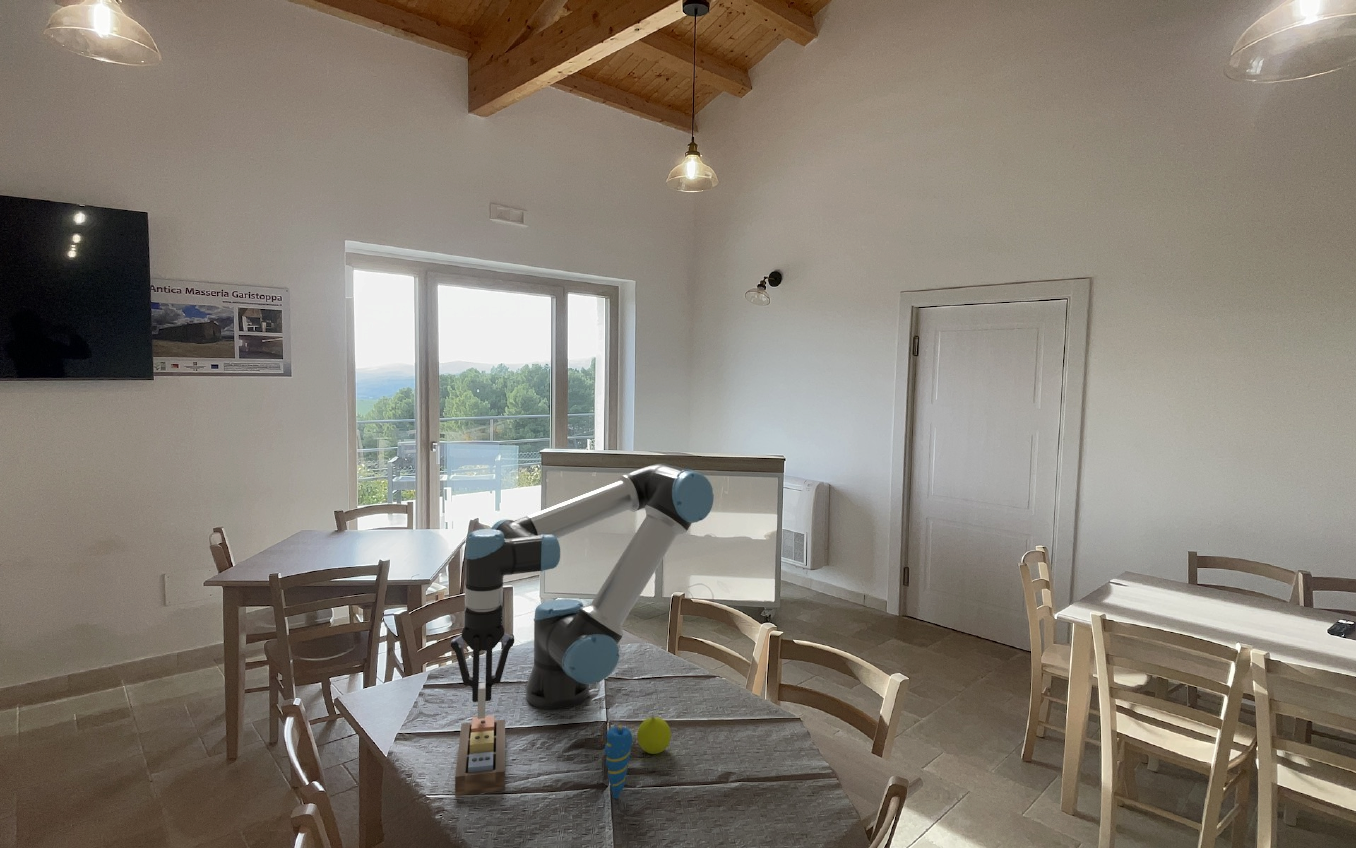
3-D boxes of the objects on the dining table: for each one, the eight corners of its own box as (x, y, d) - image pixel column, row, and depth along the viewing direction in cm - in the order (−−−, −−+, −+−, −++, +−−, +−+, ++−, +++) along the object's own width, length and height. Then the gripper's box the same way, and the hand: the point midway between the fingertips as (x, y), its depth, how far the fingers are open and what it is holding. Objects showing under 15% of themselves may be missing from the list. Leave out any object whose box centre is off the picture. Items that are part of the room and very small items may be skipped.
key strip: (504, 736, 149) (505, 719, 148) (504, 790, 130) (505, 771, 130) (461, 740, 146) (461, 723, 146) (455, 796, 128) (455, 776, 128)
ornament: (603, 790, 131) (605, 715, 130) (630, 789, 132) (632, 715, 130) (603, 807, 126) (605, 730, 125) (631, 807, 127) (633, 729, 125)
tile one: (494, 729, 147) (494, 714, 146) (493, 740, 142) (493, 725, 142) (472, 731, 146) (472, 716, 145) (471, 742, 141) (471, 728, 141)
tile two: (493, 744, 141) (493, 729, 141) (493, 756, 136) (493, 741, 136) (470, 746, 140) (470, 732, 139) (469, 759, 135) (469, 744, 135)
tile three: (493, 766, 135) (493, 751, 135) (492, 780, 131) (492, 764, 130) (469, 768, 134) (469, 753, 134) (468, 782, 130) (468, 766, 129)
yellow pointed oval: (644, 764, 140) (645, 717, 139) (631, 746, 147) (633, 701, 146) (675, 756, 143) (677, 711, 142) (662, 739, 150) (663, 695, 149)
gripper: (515, 598, 146) (513, 704, 149) (451, 600, 143) (450, 709, 145) (516, 610, 139) (513, 722, 141) (449, 613, 136) (447, 727, 138)
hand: (481, 715), depth 143 cm, fingers closed
